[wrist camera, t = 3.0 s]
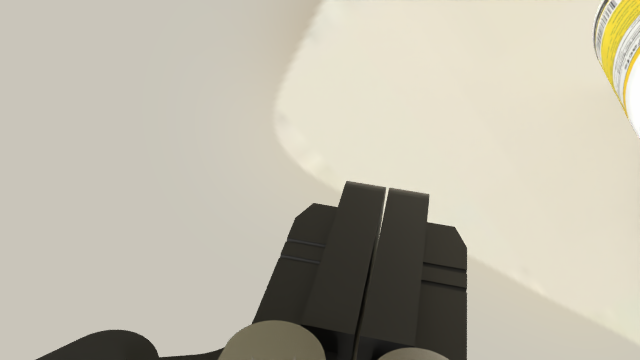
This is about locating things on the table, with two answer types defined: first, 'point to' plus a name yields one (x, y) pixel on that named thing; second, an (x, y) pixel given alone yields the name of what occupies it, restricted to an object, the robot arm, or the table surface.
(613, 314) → the table surface
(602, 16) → the supplement bottle
